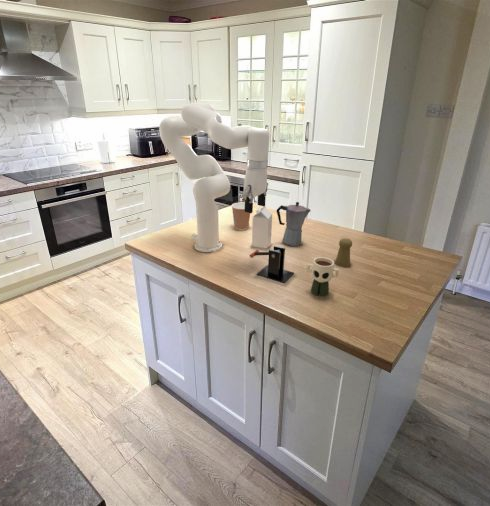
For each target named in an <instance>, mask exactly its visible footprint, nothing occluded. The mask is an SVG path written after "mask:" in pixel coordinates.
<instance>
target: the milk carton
mask: <svg viewBox="0 0 490 506" xmlns="http://www.w3.org/2000/svg"><path fill="white" fill-rule="evenodd" d="M272 223H273V212H271V211H270V210H269V209H268V208H267V206H266V205H265V206H261V208H257V209H256V210H255V214H254V215H253V216H252V230H251V247H254V248H261V249H269V247H270V246H271V244H272V229H273V228H272V226H273V224H272Z"/></svg>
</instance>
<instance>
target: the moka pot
mask: <svg viewBox="0 0 490 506" xmlns="http://www.w3.org/2000/svg"><path fill="white" fill-rule="evenodd" d="M281 210H282V211H285V222H286V224H285V222H282V216H281V212H280V211H281ZM310 212H312V210H311V209H310V208H308V207H305V206H304V205H300V202H299V201H296V202H295V204H289V205H279V207H278V208H277V209H276V215H277V219H278V223H279V225H282V226H286V227H285V230H284V233H283V237H282V239H281V240H282V243H283V244H285V245H287V246H290V247H297V246H300V245H301V244H302V233H303V230H302V228H303V225H304V223H305V220H306V218H307V216H308V215H309V213H310Z"/></svg>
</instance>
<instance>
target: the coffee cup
mask: <svg viewBox="0 0 490 506" xmlns="http://www.w3.org/2000/svg"><path fill="white" fill-rule="evenodd" d="M231 209H232V217H233V225H234V229H236V230H240V231H242V230H247V229H248V228H249V224H250V219H251V213H248V212H245V202H244V201H243V202H242V201H241V202H240V201H239V202H234V203H232V204H231Z"/></svg>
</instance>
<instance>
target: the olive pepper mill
mask: <svg viewBox="0 0 490 506" xmlns="http://www.w3.org/2000/svg"><path fill="white" fill-rule="evenodd" d="M338 245H339V248H338V252H337V255H336V258H335V261H334V265H336V266H338V267H342V268H347V267H349V266H351V248H352V246H353V241H352V240H351V239H350V238H348V237H347V238H346V237H344V238H340V240H339V241H338Z"/></svg>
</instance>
